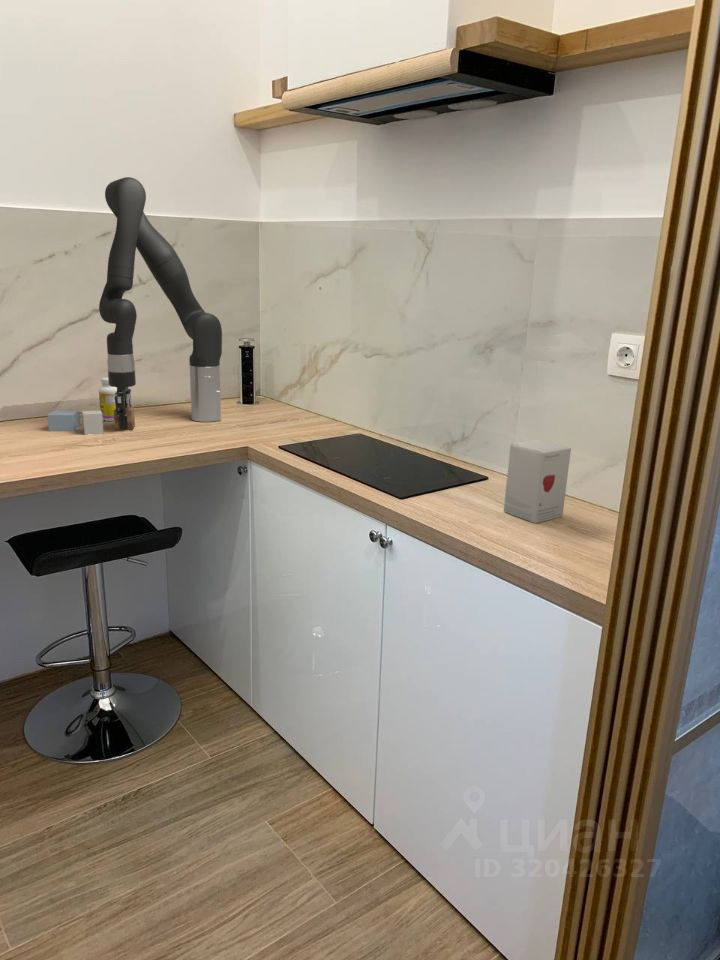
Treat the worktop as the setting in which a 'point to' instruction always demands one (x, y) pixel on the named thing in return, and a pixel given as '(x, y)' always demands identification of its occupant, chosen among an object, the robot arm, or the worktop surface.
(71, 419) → the base block
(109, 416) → the supplement bottle
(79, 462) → the worktop surface
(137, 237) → the robot arm
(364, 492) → the worktop surface
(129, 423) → the walnut block
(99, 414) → the grey block
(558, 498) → the supplement box
